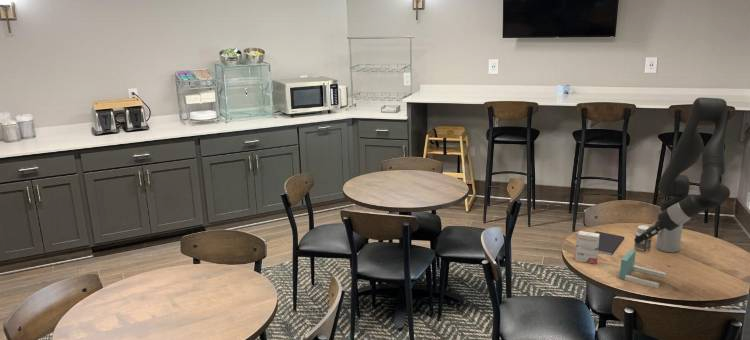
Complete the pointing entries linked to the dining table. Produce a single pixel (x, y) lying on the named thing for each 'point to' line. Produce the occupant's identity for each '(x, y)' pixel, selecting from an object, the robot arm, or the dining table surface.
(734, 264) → the dining table surface
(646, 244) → the pill bottle
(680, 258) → the dining table surface
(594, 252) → the ink box
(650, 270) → the pocket
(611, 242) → the notebook
